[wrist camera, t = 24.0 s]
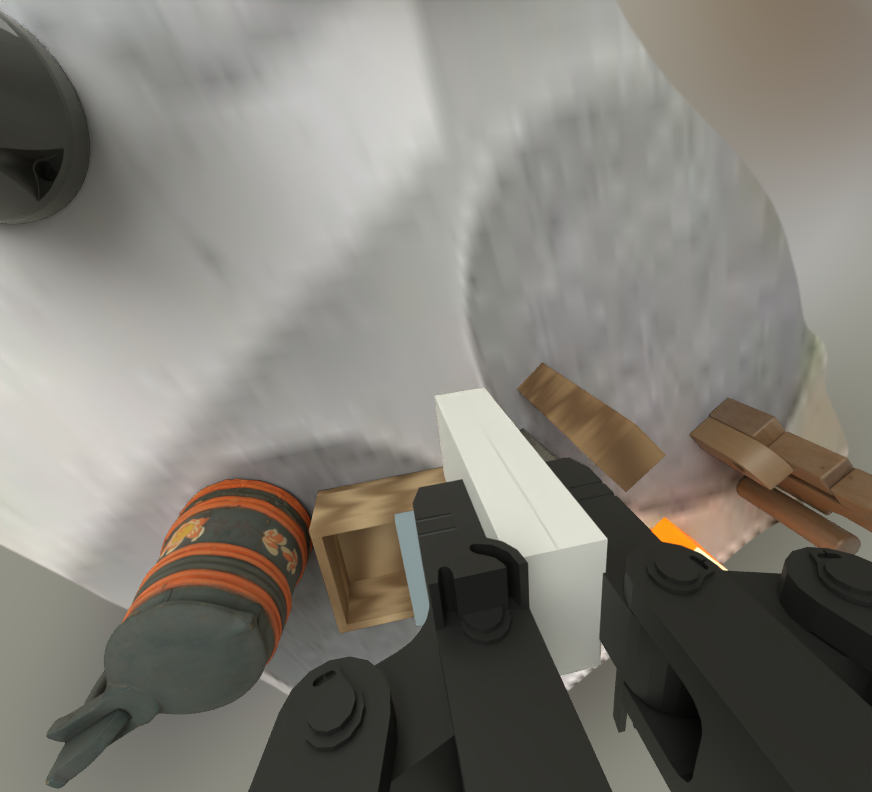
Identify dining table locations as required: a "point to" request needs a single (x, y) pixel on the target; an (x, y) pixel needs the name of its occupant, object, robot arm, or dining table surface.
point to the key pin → (593, 427)
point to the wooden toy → (789, 474)
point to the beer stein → (195, 618)
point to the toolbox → (366, 548)
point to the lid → (413, 564)
